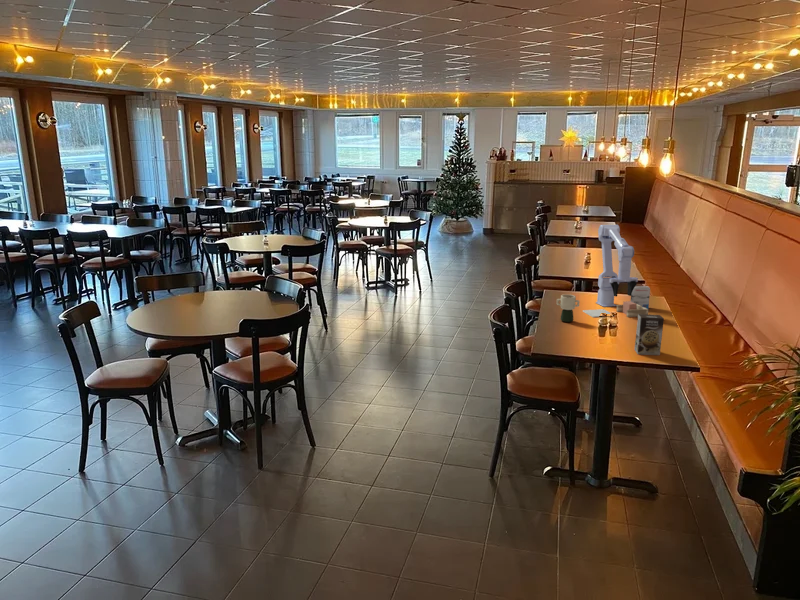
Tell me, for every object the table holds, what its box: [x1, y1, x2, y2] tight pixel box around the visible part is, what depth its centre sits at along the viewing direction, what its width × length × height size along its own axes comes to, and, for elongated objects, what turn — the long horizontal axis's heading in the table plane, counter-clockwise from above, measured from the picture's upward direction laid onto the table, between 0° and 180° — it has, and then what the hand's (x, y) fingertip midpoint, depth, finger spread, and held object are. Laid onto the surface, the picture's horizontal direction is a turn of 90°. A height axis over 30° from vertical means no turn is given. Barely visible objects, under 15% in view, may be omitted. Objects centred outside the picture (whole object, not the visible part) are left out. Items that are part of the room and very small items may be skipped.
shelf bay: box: [616, 304, 649, 318], centre depth 312 cm, size 11×11×4 cm
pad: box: [582, 308, 611, 318], centre depth 313 cm, size 12×12×1 cm
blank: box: [622, 300, 637, 315], centre depth 311 cm, size 6×4×6 cm, turn 9°
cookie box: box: [634, 313, 665, 356], centre depth 251 cm, size 9×6×16 cm
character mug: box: [556, 294, 580, 323], centre depth 298 cm, size 11×7×13 cm, turn 71°
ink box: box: [630, 285, 651, 310], centre depth 322 cm, size 8×5×12 cm, turn 84°
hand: (622, 295), depth 309 cm, fingers open, 7 cm apart
